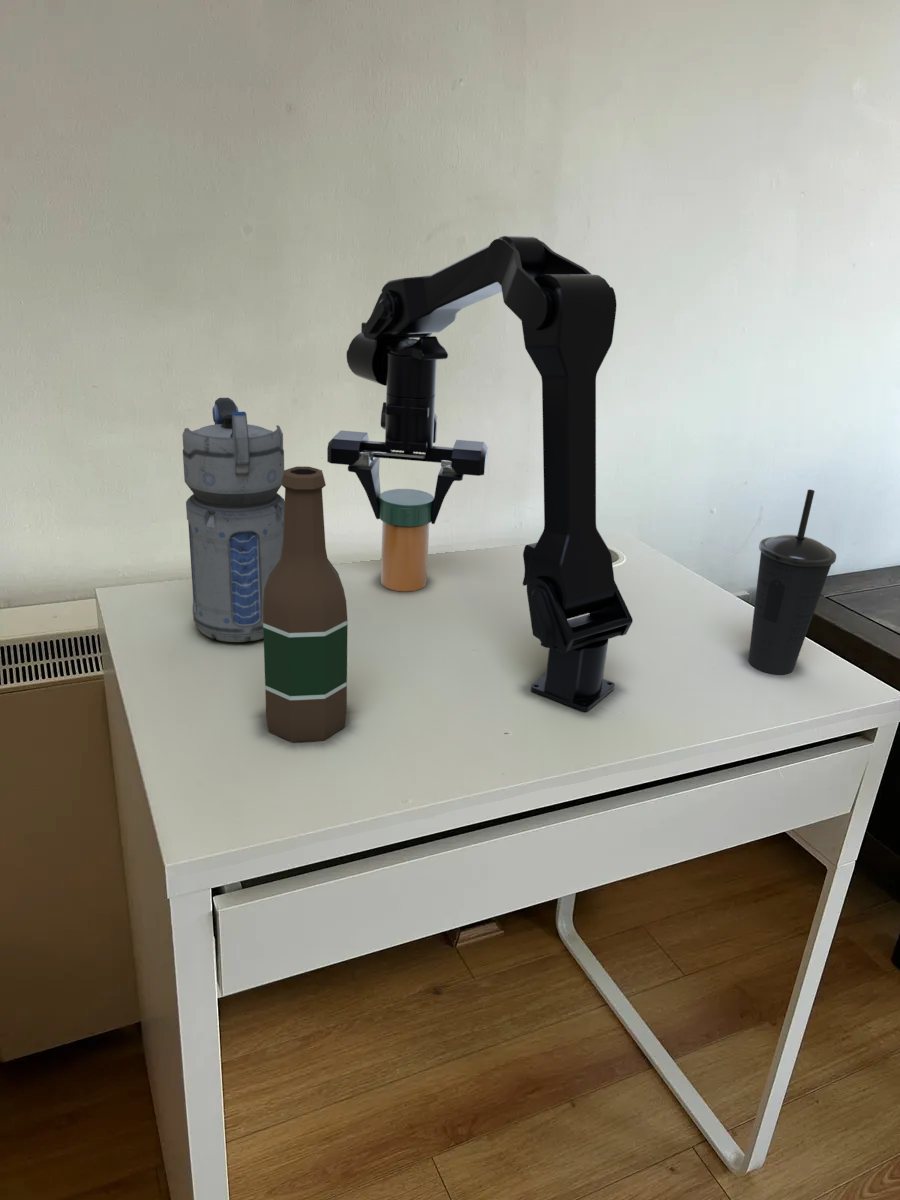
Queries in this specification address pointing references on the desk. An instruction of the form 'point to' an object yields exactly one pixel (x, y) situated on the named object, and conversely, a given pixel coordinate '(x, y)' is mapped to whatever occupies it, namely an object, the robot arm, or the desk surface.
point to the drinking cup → (787, 596)
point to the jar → (404, 557)
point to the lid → (405, 507)
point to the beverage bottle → (233, 520)
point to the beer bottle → (305, 622)
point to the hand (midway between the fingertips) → (406, 520)
